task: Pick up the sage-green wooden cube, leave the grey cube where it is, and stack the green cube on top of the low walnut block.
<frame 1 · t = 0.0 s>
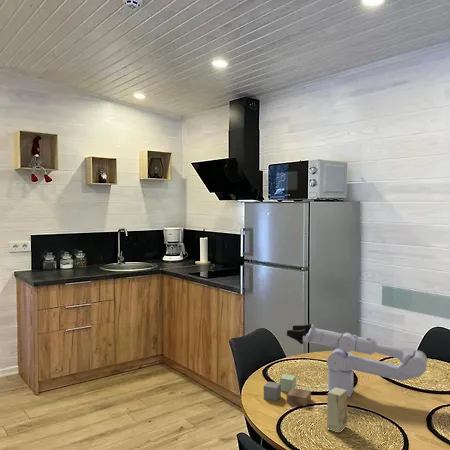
hand: (290, 330, 184), 22 cm above the table, tool horizontal, fingers open, 7 cm apart
walnut block: (298, 402, 168), on the table
skincare box: (337, 429, 147), on the table
grey cube: (272, 397, 172), on the table
sage cube: (288, 389, 179), on the table
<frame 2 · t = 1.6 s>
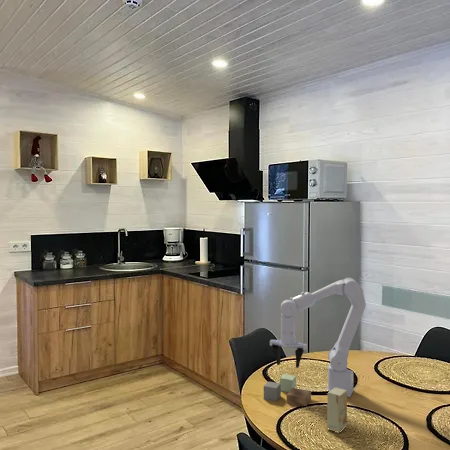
hand: (288, 365, 179), 9 cm above the table, tool pointing down, fingers open, 7 cm apart
nothing on the table moved.
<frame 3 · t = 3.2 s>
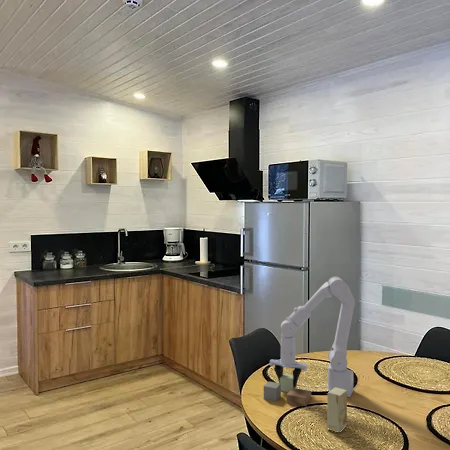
hand: (288, 385, 179), 1 cm above the table, tool pointing down, fingers closed on sage cube, 5 cm apart
sage cube: (288, 389, 179), on the table, touching gripper
everything else where it was.
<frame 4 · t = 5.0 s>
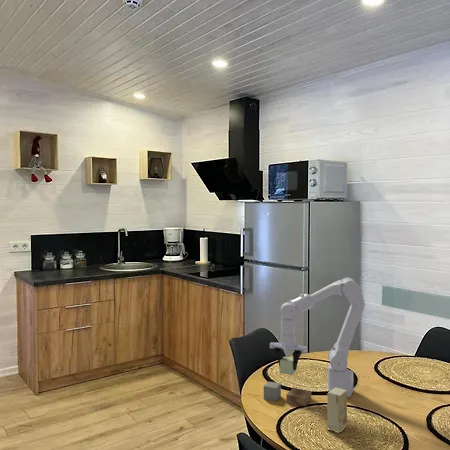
hand: (288, 368, 179), 8 cm above the table, tool pointing down, fingers closed on sage cube, 5 cm apart
sage cube: (288, 371, 179), point 7 cm above the table, touching gripper
everything else where it was.
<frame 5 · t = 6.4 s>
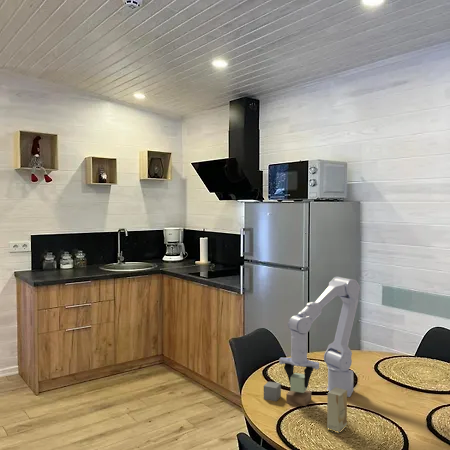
hand: (299, 385, 168), 6 cm above the table, tool pointing down, fingers closed on sage cube, 5 cm apart
sage cube: (298, 389, 168), point 4 cm above the table, touching gripper
everything else where it was.
when the fingers open (6 cm above the table, at t = 7.1 s): sage cube drops 1 cm, resting on walnut block.
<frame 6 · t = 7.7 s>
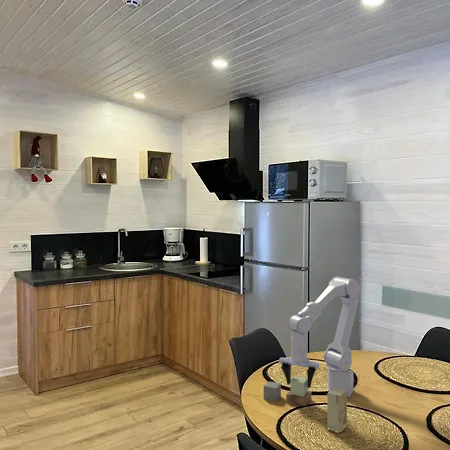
hand: (298, 385, 168), 6 cm above the table, tool pointing down, fingers open, 7 cm apart
walnut block: (298, 402, 168), on the table, touching sage cube
sage cube: (299, 392, 168), point 3 cm above the table, touching walnut block
everything else where it was.
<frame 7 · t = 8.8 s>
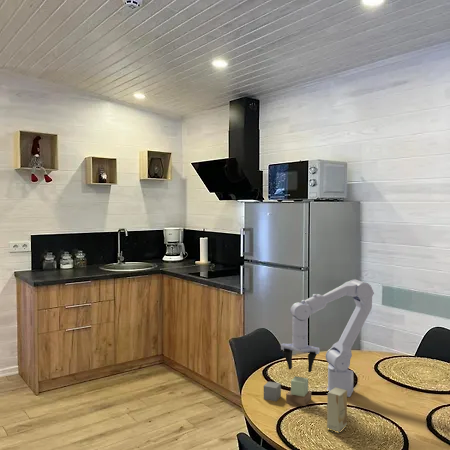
hand: (300, 370, 174), 9 cm above the table, tool pointing down, fingers open, 7 cm apart
nothing on the table moved.
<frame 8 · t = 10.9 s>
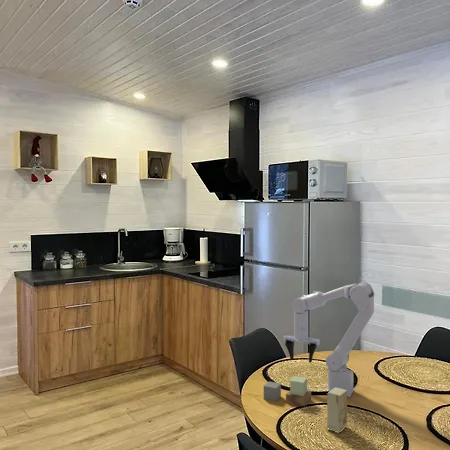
hand: (301, 360, 185), 9 cm above the table, tool pointing down, fingers open, 7 cm apart
nothing on the table moved.
at the end: sage cube 0.1 cm off-centre on the walnut block, point 3.5 cm above the walnut block's base; sage cube tilted 0°; the gripper is holding nothing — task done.
